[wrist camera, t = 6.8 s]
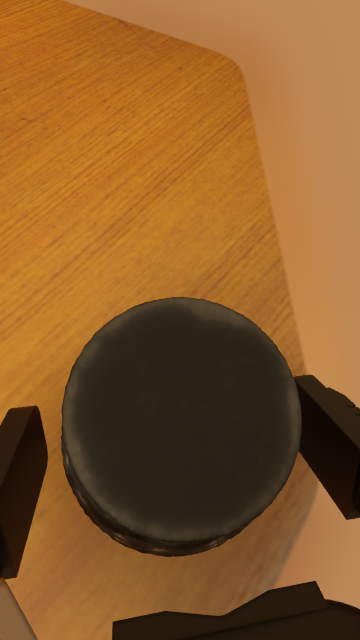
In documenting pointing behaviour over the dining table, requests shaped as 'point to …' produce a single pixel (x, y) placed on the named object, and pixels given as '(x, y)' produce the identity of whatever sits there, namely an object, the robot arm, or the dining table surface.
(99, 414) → the pill bottle
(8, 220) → the dining table surface
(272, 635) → the robot arm
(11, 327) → the dining table surface
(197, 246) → the dining table surface
